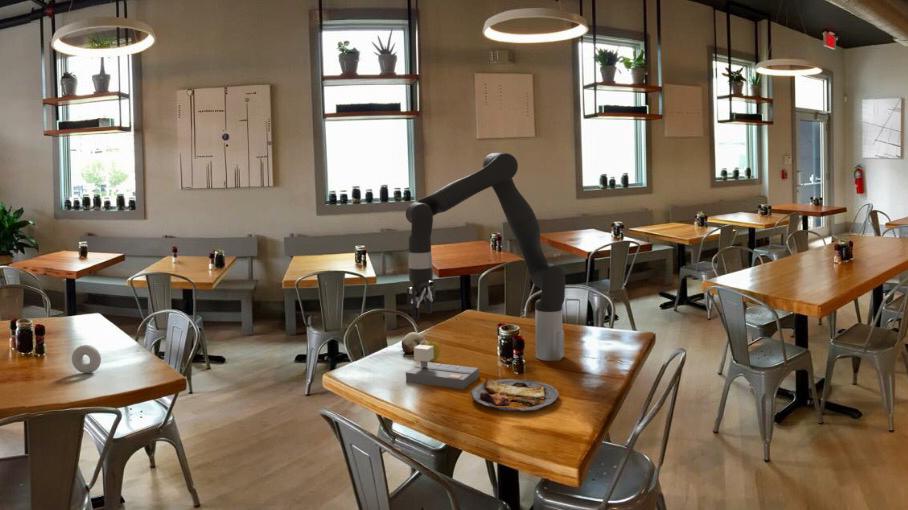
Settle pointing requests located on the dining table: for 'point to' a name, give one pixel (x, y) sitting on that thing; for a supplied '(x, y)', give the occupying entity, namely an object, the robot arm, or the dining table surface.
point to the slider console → (443, 375)
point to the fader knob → (423, 354)
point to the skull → (412, 343)
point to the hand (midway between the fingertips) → (422, 316)
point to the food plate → (514, 393)
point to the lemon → (435, 349)
